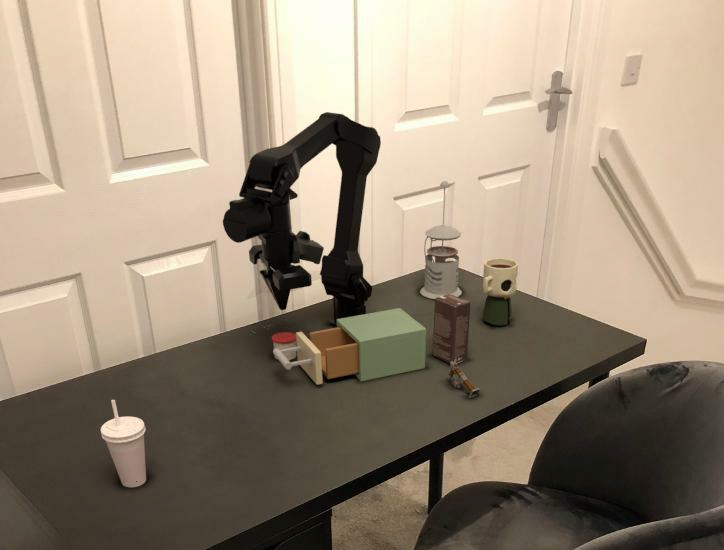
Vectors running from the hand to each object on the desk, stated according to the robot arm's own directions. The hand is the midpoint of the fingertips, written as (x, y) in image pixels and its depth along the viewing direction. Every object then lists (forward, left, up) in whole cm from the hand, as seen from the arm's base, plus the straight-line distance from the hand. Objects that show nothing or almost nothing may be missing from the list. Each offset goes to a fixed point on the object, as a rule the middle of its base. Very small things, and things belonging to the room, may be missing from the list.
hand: (282, 309), depth 158 cm
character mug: (+22, +41, -10) cm, 48 cm away
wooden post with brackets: (+35, +10, -10) cm, 38 cm away
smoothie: (+14, -47, -10) cm, 50 cm away
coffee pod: (0, 0, -10) cm, 10 cm away
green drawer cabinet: (+16, +10, -10) cm, 22 cm away
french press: (+1, +48, -10) cm, 50 cm away
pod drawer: (+11, -1, -9) cm, 15 cm away
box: (+25, +20, -10) cm, 34 cm away
